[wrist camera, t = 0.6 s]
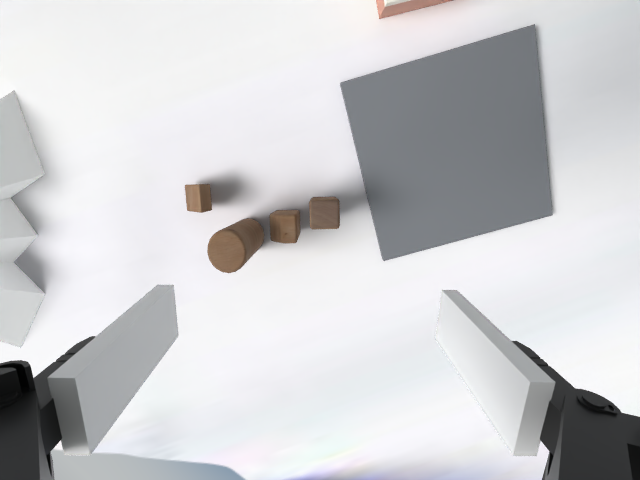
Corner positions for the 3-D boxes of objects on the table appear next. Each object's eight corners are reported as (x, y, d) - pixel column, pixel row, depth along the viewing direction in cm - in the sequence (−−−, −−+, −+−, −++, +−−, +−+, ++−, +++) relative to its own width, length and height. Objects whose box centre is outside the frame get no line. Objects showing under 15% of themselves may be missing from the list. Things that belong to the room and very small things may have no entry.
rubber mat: (340, 84, 37) (340, 82, 36) (529, 27, 36) (534, 24, 35) (382, 259, 42) (383, 261, 41) (548, 214, 41) (552, 215, 40)
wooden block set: (335, 181, 40) (340, 180, 30) (336, 249, 41) (341, 271, 31) (190, 184, 40) (146, 185, 30) (197, 252, 41) (157, 275, 31)
